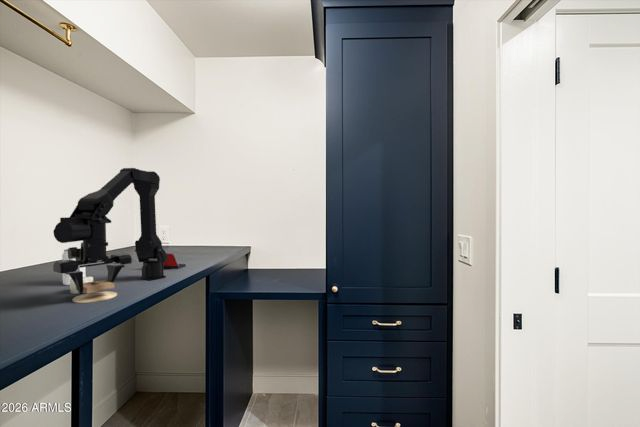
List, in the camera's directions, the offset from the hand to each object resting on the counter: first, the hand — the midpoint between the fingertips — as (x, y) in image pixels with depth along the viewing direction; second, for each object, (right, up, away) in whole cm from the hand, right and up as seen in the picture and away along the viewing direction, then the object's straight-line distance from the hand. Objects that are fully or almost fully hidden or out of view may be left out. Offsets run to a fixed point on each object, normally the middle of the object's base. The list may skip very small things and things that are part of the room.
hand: (95, 291), depth 98 cm
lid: (0, +1, 0) cm, 1 cm away
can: (-20, -2, +18) cm, 26 cm away
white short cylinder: (-10, -2, +7) cm, 12 cm away
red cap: (0, -1, +46) cm, 46 cm away
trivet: (0, -2, 0) cm, 2 cm away
